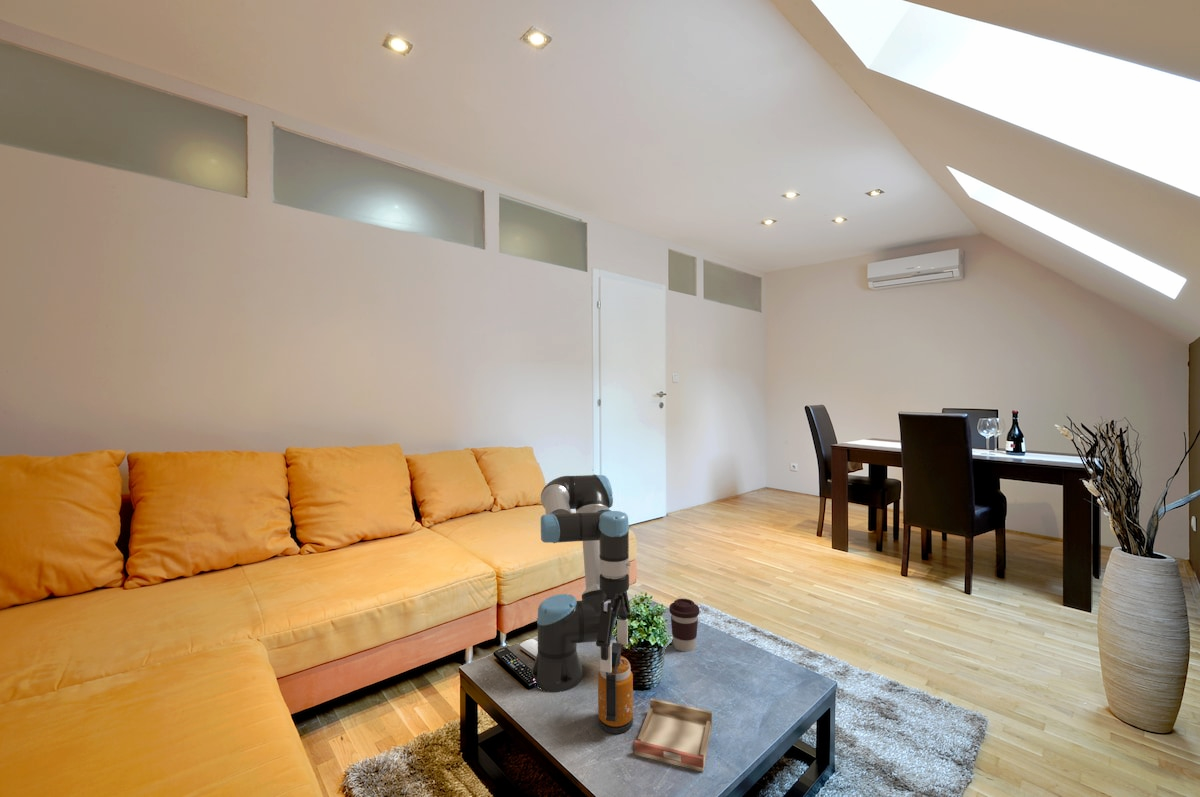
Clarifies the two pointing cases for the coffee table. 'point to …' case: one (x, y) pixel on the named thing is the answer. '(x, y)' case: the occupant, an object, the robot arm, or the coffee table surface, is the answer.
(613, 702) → the canister
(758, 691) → the coffee table surface
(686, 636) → the coffee cup
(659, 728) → the wooden serving tray
